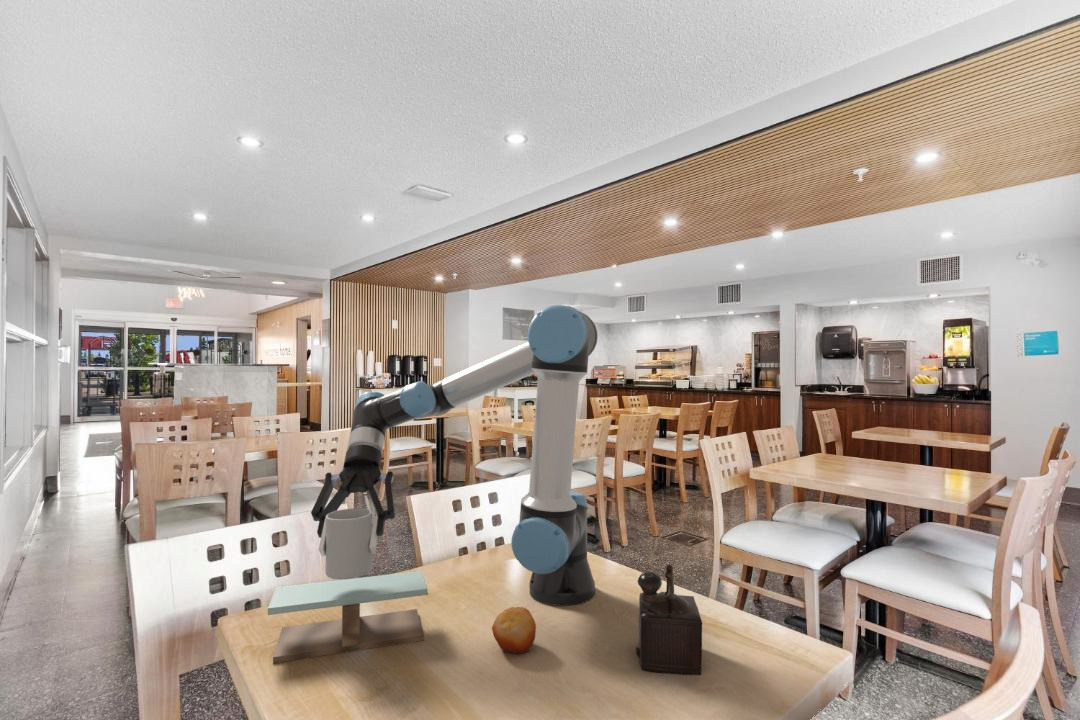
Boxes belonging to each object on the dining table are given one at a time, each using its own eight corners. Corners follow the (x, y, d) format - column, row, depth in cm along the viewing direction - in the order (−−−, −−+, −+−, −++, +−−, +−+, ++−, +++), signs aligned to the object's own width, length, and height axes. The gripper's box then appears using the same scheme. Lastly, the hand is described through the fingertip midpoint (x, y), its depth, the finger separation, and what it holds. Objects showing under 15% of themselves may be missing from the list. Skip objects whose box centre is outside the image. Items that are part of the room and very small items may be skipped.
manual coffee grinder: (634, 641, 105) (634, 546, 105) (694, 645, 103) (694, 548, 103) (637, 688, 89) (637, 576, 90) (708, 693, 88) (707, 579, 88)
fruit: (545, 629, 107) (538, 602, 103) (533, 668, 100) (525, 641, 96) (506, 623, 109) (498, 596, 105) (492, 661, 103) (483, 634, 99)
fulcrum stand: (416, 613, 117) (416, 575, 117) (422, 640, 105) (422, 598, 105) (282, 632, 109) (282, 591, 109) (272, 663, 97) (273, 617, 97)
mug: (357, 581, 101) (357, 521, 101) (315, 578, 102) (315, 518, 103) (389, 559, 112) (389, 504, 112) (351, 556, 114) (351, 502, 114)
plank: (422, 576, 116) (422, 570, 116) (427, 594, 107) (427, 588, 107) (276, 593, 108) (276, 587, 108) (267, 615, 98) (267, 608, 98)
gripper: (415, 462, 124) (406, 558, 108) (317, 464, 122) (292, 563, 105) (412, 441, 119) (403, 539, 103) (310, 443, 116) (283, 543, 100)
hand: (347, 551), depth 104 cm, fingers closed on mug, 8 cm apart
